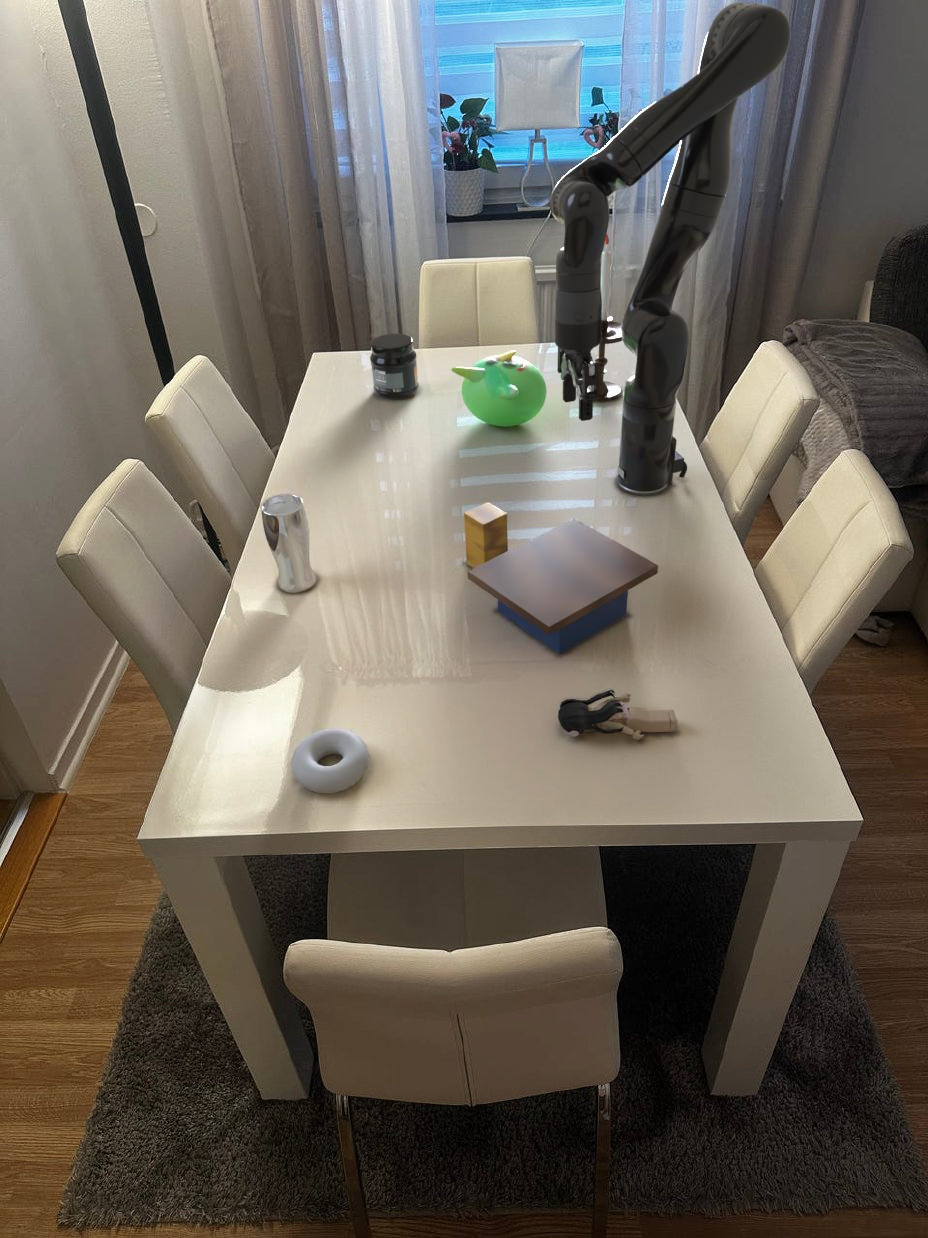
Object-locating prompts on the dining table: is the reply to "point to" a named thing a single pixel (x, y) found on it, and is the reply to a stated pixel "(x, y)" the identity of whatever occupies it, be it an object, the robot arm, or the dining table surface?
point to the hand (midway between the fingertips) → (577, 409)
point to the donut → (335, 775)
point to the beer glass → (289, 540)
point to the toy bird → (503, 389)
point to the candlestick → (606, 331)
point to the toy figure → (612, 717)
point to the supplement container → (394, 366)
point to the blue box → (573, 624)
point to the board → (562, 575)
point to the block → (485, 534)
